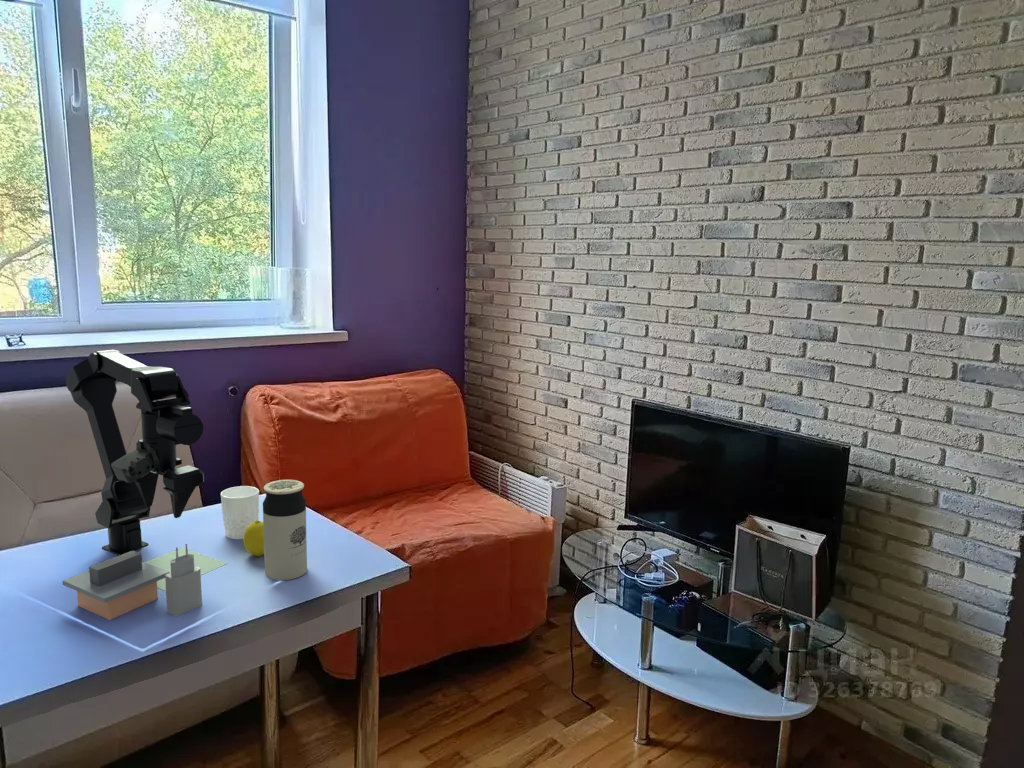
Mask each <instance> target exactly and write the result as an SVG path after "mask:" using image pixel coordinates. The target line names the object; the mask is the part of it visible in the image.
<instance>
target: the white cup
mask: <svg viewBox="0 0 1024 768" xmlns="http://www.w3.org/2000/svg"><path fill="white" fill-rule="evenodd" d="M220 500H221V501H220V502H221V513H222V520H223V521H222V522H223V526H224V533H225V534H224V535H225V537H226V538H227V539H231V540H244V533H245V530H246V528H247V527H248V525H250V524H251V523H253V522H255V521H256V520H259V516H260V515H259V513H260V510H259V509H260V508H259V507H260V504H259V503H260V490H259V488H257V487H255V486H249V485H240V486H238V485H237V486H233V487H229V488H226V489H224V490H222V491H221V492H220Z"/></svg>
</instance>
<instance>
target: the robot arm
mask: <svg viewBox="0 0 1024 768" xmlns="http://www.w3.org/2000/svg"><path fill="white" fill-rule="evenodd" d="M118 382H121V383H123V384H125V385H126V386H128V387H130V394H131V395H133V396H134V397H135V398H136V399H137V400H138V402H137V404H136V405H135V409H138V410H140V415H141V417H140V418H141V434H142V435H141V436H142V439H138V440H137V442H136V449H135V450H133V451H130V452H128V453H127V449H126V447H125V443H124V440H123V439H124V438H123V436H122V433H121V429H120V426H119V423H118V420H117V416H116V413H115V410H114V407H113V402H114V400H115V397H116V394H117V393H118V390H117V389H118V388H117V383H118ZM65 386H66V387H67V390H68V391H69V392H70V394H71V397H72V400H73V401H74V403H75V404H76V405H78V406H79V407H80V408H81V409H83V410H84V411H85V413H86V416H87V419H88V422H89V426H90V428H91V431H92V435H93V439H94V441H95V445H96V448H97V452H98V455H99V458H100V462H101V465H102V469H103V473H104V477H105V480H104V484H103V486H102V490H101V494H100V495H101V498H102V499H101V500H102V502H101V504H100V505H99V506H98V508H97V509H96V511H95V519H96V522H97V524H98V525H101V526H103V527H105V528H107V536H108V538H107V539H108V544H107V545H103V546H101V550H104V551H107V552H110V553H113V554H116V556H119V555H122V554H125V553H128V552H130V551H136V550H139V549H142V548H145V547H147V546H149V543H148V542H146V541H143V540H142V537H143V536H142V528H141V520H140V519H145V518H149V517H150V513H151V507H152V506H153V503H154V499H155V494H156V489H157V484H158V479H159V475H160V476H162V482H163V485H164V487H162V489H163V490H164V491H166V492H167V493H168V494H169V495H170V504H171V508H172V515H173V518H174V519H180V517H181V516H182V515H183V512H184V510H185V508H186V506H187V504H188V502H189V500H190V498H191V496H192V495H193V492H194V491H195V489H196V488H197V487H199V486H200V484H203V483H204V482H205V475H204V474H205V473H204V471H203V470H201V469H200V468H198V467H194V466H192V465H189V464H188V465H184V466H181V467H176V466H180V465H183V463H182V461H183V460H182V458H179V457H177V446H178V445H183V446H191V445H193V444H195V443H197V442H198V441H199V440H200V438H202V435H203V432H204V424H203V422H202V419H201V418H200V417H199V416H198V415H196V414H193V413H194V412H193V408H192V407H190V406H191V401H190V399H189V397H190V395H189V393H188V391H187V390H186V388H185V387H184V385H183V383H182V379H181V378H180V376H179V374H178V373H177V372H176V371H175V370H174V369H173V368H171V367H166V366H148V365H145V364H144V363H141V362H139V361H138V360H136V359H134V358H130V357H129V356H127V355H124V354H122V353H121V351H120V350H116V349H105V350H103V349H102V350H95V351H93V352H91V353H90V354H89V355H88V356H87V358H85V359H84V360H82V361H81V362H79V363H76V364H75V365H74V366H72V368H71V370H70V371H69V372H68V374H67V375H66V378H65Z"/></svg>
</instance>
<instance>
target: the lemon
mask: <svg viewBox="0 0 1024 768" xmlns="http://www.w3.org/2000/svg"><path fill="white" fill-rule="evenodd" d="M243 545H244V548H245V550H246V552H247V553H248V554H250V555H252V556H255V557H257V558H258V557H261V556H262V555H264V528H263V521H262V520H261V521H260V520H259V519H258V520H256V521H255V522H253V523H251V524H250V525H248V527H247V528H246V530H245V533H244V539H243Z"/></svg>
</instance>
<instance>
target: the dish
mask: <svg viewBox="0 0 1024 768" xmlns="http://www.w3.org/2000/svg"><path fill="white" fill-rule="evenodd" d="M76 593H77V594H76V595H77V606H78V607H80V608H82V609H84V610H87V611H89V612H91V613H92V614H93V613H94V614H95V615H96V616H100V617H102V618H104V619H107V620H109V621H110V620H113V619H115V618H117V617H119V616H122V615H124V614H126V613H129V612H130V611H133V610H136V609H137V608H141V607H142V606H144V605H147V604H148V603H151V602H153V601H156V600H158V599H159V596H158V588H157V581H156V582H154V583H151V584H149V585H147V586H144V587H142V588H139V589H137V590H135V591H132V592H130V593H128V594H125V595H123V596H120V597H118V598H116V599H113V600H111V601H108V602H106V603H103V602H101V601H99V600H97V599H94V598H92V597H90V596H87V595H85V594H83V593H81V592H78V591H76Z"/></svg>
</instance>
